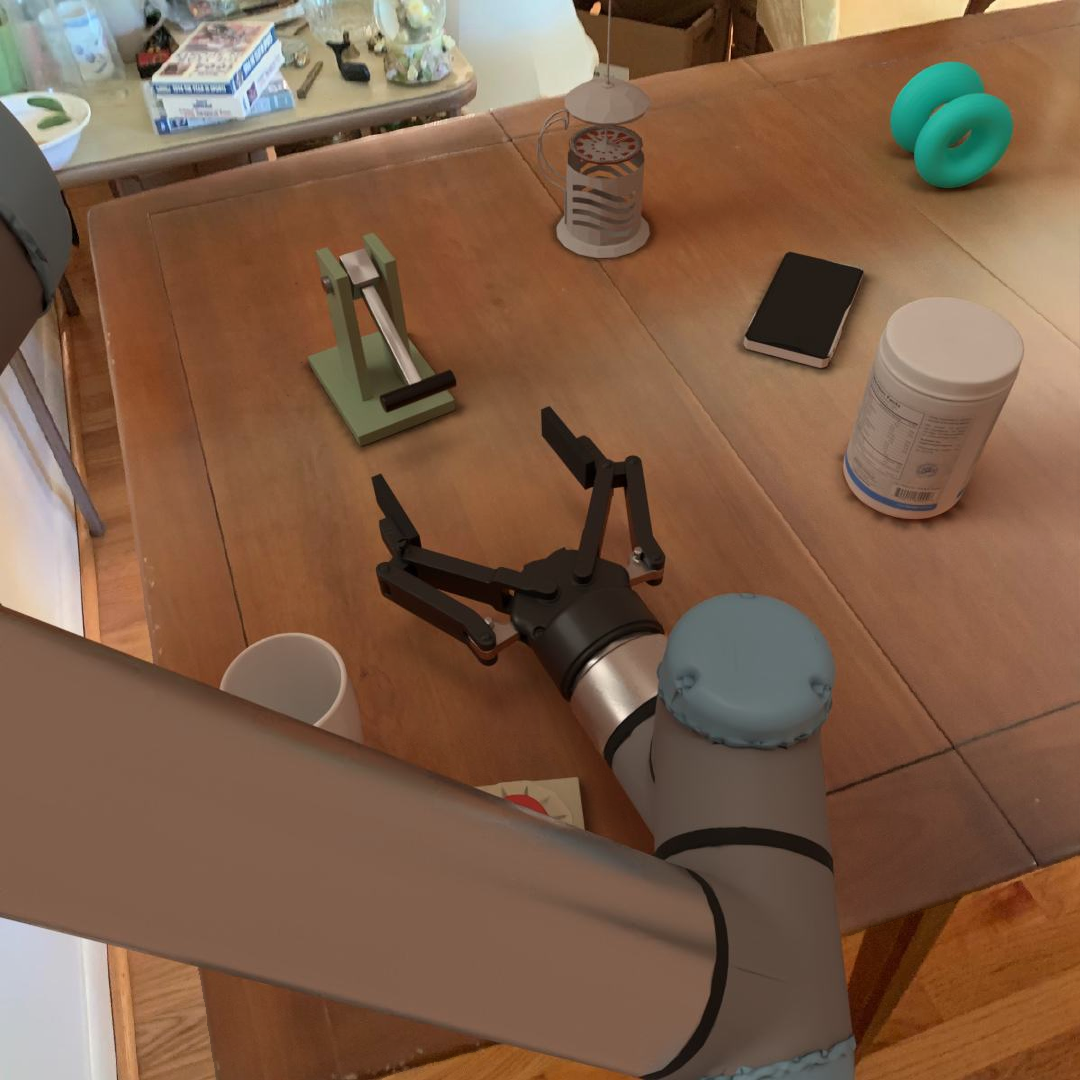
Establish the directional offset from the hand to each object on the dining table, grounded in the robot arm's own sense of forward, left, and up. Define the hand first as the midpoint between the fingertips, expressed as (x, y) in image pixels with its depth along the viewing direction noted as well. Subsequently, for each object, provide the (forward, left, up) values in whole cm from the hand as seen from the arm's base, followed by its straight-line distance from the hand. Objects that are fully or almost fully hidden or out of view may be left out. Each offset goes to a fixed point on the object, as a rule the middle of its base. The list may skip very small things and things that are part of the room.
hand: (464, 453), depth 71 cm
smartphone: (+33, +22, -8) cm, 40 cm away
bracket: (-7, +16, -7) cm, 19 cm away
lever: (-6, +13, +1) cm, 14 cm away
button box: (+2, -28, -7) cm, 29 cm away
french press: (+15, +38, -8) cm, 42 cm away
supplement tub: (+35, 0, -8) cm, 35 cm away
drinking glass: (-10, -23, -8) cm, 26 cm away
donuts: (+54, +45, -8) cm, 71 cm away
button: (+2, -28, -4) cm, 28 cm away
